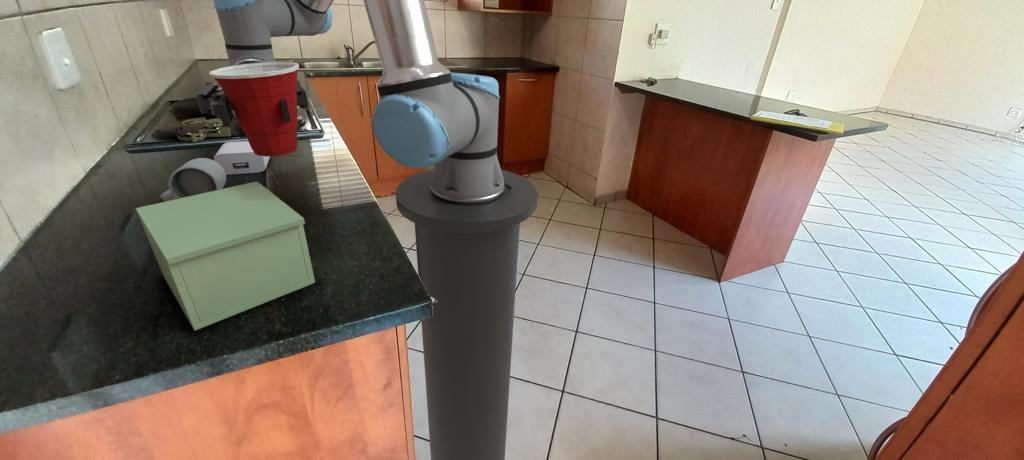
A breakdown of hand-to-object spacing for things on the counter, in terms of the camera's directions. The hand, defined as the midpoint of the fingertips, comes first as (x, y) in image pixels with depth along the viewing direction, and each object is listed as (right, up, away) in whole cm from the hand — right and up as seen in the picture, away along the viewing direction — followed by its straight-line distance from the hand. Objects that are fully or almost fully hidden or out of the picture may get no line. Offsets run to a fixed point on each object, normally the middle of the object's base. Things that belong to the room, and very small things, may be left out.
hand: (255, 113), depth 56 cm
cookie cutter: (-53, +12, +64) cm, 84 cm away
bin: (-5, -22, +4) cm, 23 cm away
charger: (-29, +1, +45) cm, 53 cm away
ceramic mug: (-27, -9, +26) cm, 39 cm away
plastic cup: (-2, -4, +7) cm, 8 cm away
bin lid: (-4, -14, 0) cm, 14 cm away
